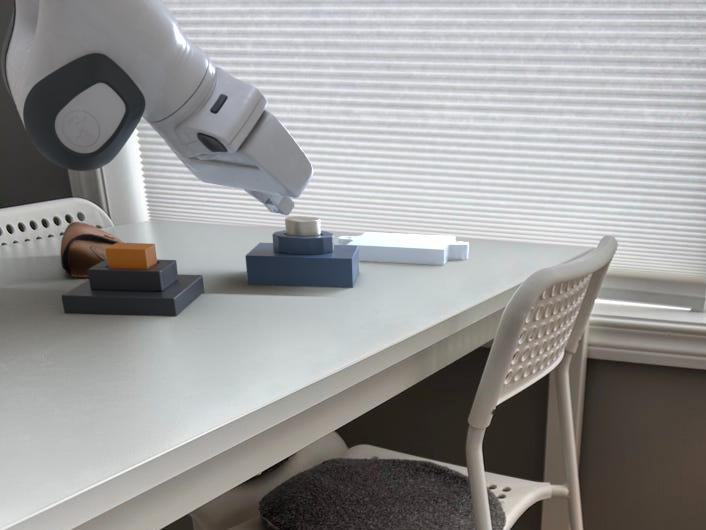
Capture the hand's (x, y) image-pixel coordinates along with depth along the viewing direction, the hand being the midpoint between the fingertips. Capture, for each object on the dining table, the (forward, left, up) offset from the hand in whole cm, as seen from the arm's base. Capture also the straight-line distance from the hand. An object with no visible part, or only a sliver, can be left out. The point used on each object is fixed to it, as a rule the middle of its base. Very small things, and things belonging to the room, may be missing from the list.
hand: (284, 209), depth 108 cm
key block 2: (+2, +2, -8) cm, 8 cm away
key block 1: (-11, -22, -8) cm, 26 cm away
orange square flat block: (-11, -22, -3) cm, 25 cm away
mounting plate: (+13, +22, -8) cm, 26 cm away
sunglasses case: (-24, +7, -8) cm, 26 cm away
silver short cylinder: (+2, +2, -3) cm, 4 cm away
